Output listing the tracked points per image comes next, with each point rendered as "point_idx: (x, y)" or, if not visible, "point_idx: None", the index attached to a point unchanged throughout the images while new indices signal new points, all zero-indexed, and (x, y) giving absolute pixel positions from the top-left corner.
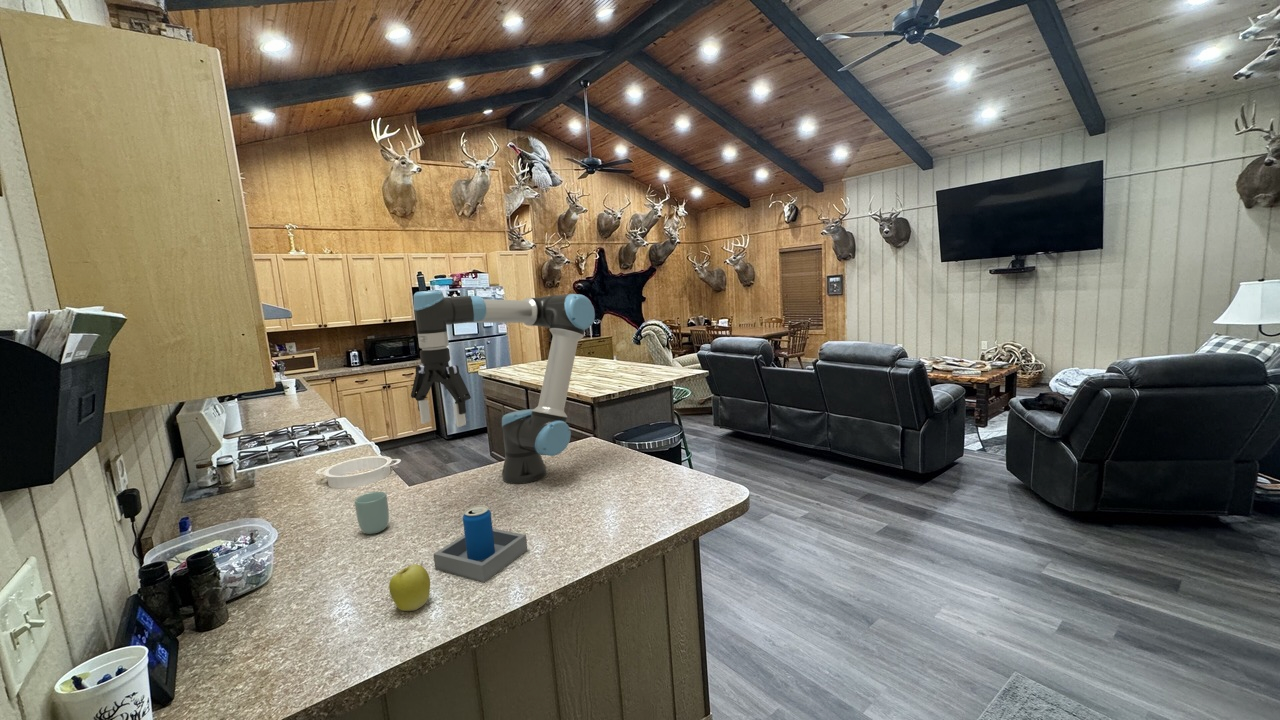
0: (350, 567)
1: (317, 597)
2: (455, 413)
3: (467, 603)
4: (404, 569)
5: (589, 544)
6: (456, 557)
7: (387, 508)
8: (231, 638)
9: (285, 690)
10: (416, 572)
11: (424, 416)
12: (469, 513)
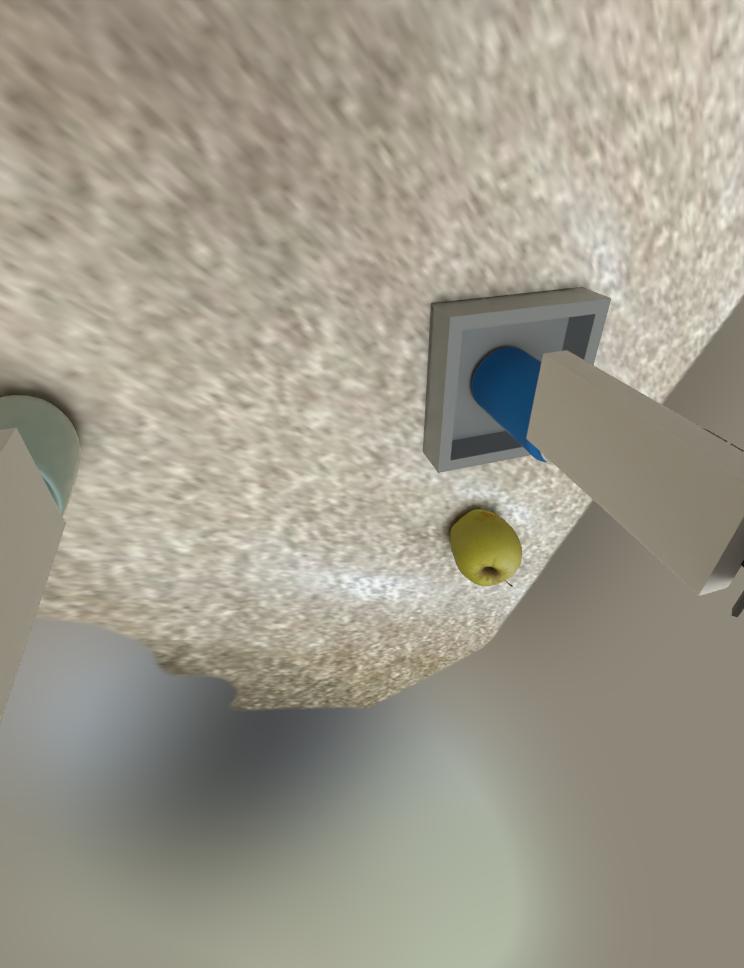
0: (228, 541)
1: (288, 601)
2: (611, 511)
3: (553, 478)
4: (483, 566)
5: (729, 182)
6: (500, 455)
7: (46, 431)
8: (283, 680)
9: (449, 650)
10: (519, 563)
11: (30, 551)
12: (528, 424)
